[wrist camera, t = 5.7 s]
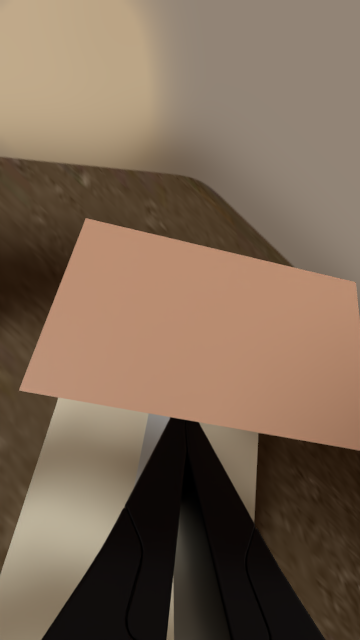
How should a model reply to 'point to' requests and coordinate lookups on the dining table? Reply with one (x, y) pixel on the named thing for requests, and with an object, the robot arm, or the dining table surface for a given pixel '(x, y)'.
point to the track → (90, 504)
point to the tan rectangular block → (202, 338)
